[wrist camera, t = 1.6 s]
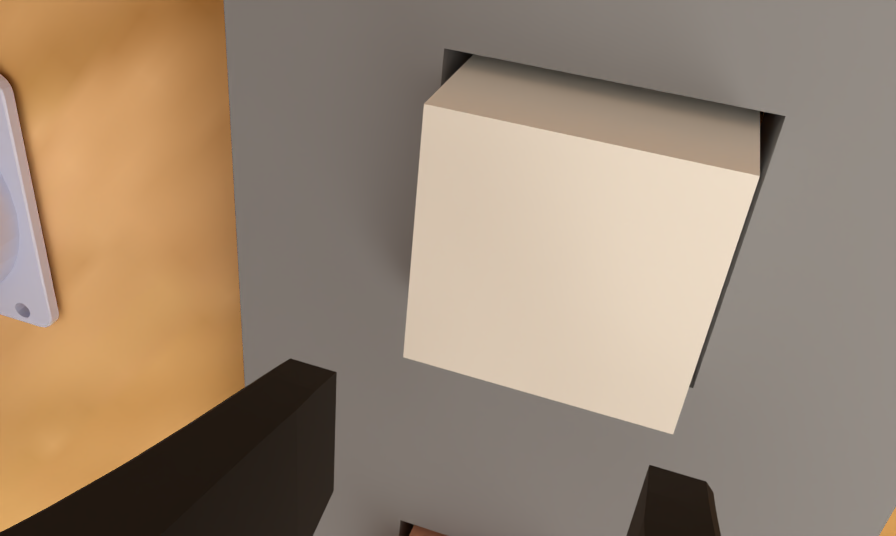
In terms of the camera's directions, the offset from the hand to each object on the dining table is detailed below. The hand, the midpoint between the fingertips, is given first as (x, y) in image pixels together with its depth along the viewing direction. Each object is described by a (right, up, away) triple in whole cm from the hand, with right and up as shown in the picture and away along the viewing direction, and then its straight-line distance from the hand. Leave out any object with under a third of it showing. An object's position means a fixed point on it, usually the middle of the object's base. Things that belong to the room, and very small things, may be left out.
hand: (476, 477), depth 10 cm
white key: (+2, +4, +6) cm, 8 cm away
